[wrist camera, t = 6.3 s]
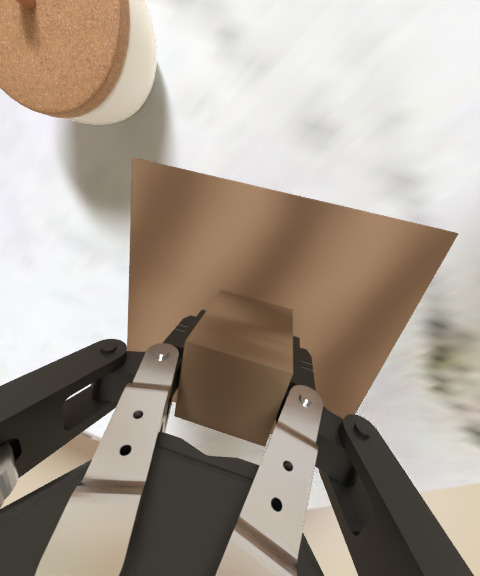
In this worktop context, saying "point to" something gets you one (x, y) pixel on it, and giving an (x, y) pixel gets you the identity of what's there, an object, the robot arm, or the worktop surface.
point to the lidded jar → (78, 57)
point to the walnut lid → (268, 292)
